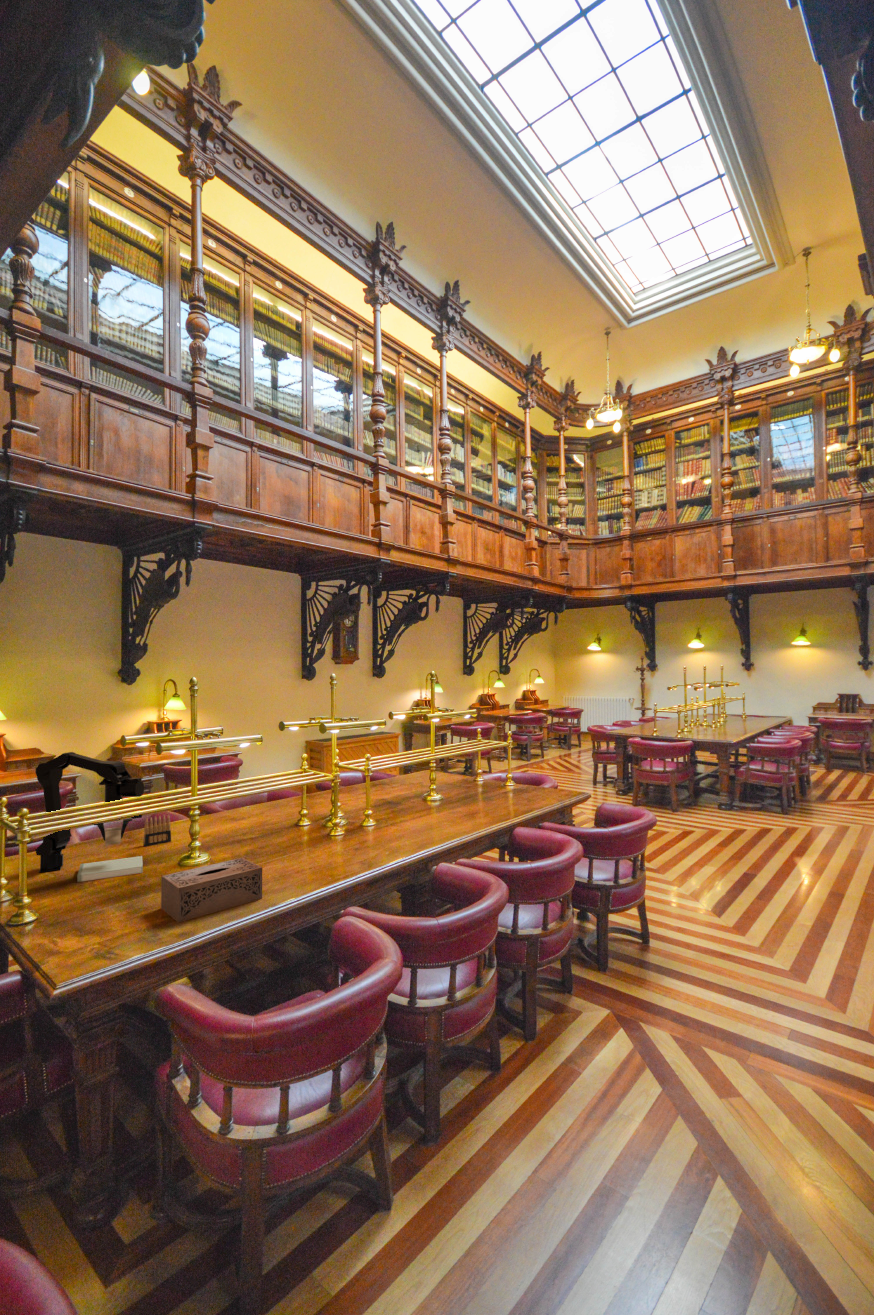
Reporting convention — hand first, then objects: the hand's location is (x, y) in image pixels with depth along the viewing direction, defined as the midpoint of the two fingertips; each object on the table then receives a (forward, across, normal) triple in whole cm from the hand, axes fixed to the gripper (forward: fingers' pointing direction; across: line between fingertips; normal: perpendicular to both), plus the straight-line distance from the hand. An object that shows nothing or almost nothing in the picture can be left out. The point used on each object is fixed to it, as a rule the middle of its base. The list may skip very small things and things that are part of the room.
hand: (113, 839), depth 209 cm
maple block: (+1, 0, 0) cm, 1 cm away
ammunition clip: (+12, +16, +30) cm, 36 cm away
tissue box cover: (+12, +28, -52) cm, 60 cm away
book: (+11, 0, -1) cm, 11 cm away
